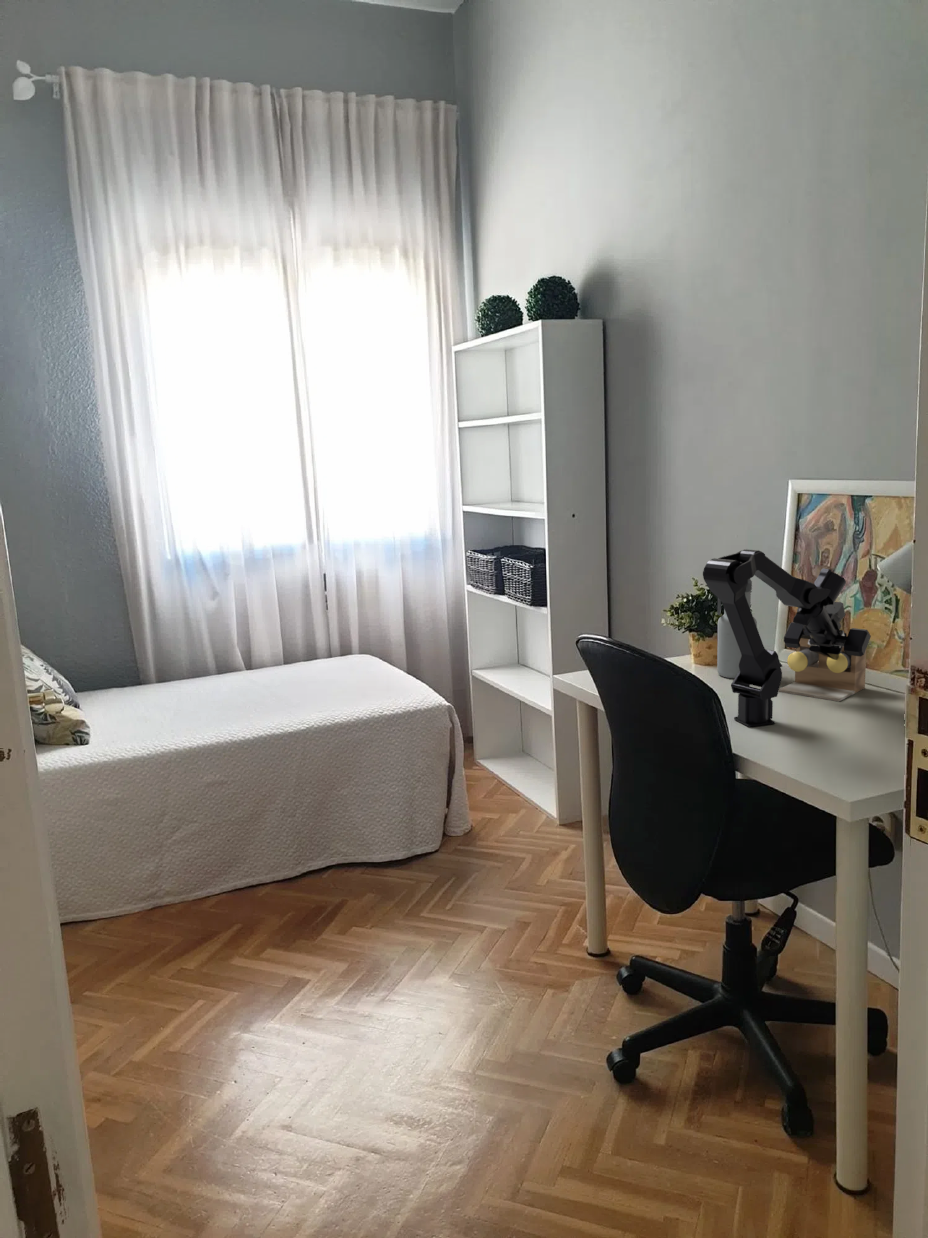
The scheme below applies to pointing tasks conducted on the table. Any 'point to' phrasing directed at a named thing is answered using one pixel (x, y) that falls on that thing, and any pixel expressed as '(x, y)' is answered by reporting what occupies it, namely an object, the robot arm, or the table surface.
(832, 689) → the console
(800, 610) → the robot arm
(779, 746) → the table surface
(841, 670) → the knob right
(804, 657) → the knob left
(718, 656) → the water bottle
